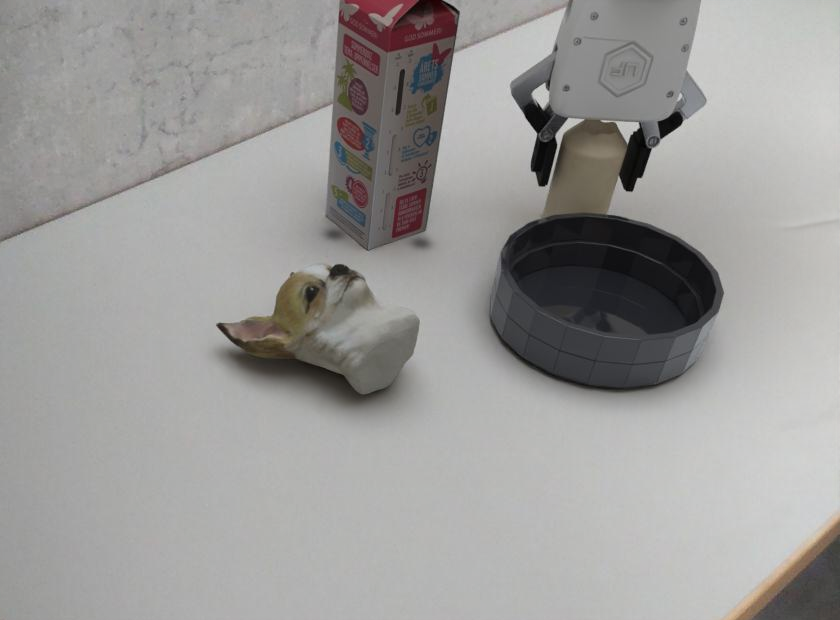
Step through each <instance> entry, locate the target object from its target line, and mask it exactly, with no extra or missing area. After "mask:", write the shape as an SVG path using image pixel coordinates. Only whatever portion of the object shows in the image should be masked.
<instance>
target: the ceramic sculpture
mask: <svg viewBox="0 0 840 620" xmlns="http://www.w3.org/2000/svg"><path fill="white" fill-rule="evenodd" d="M420 324H421V322H420V318H419V317H418V316H417V314H416V313H415V312H414V309H412V308H410V307H403V306H396V305H391V304H388V303H385V302H383V301H381V300H380V299H378V297H377V296H376V295H375V294H374V293H373V292H372V290H371V289H370V287H369V285H368V283H367V280H366V277H365V276H364V275H363V274H362V273H361V272H359V271H357V270H355V269H352V268H350V267H349V266H348V265H345V264H343V263H337V264H334V265H333V266H332V265H330V264H327V263H314V264H312V265H311V264H310V265H308V266H306V267H304V268H301V269H299V270H298V271H296V272H294V271H291V272H290V274H289V277H288V278H287V279H286V280H285V281H284V282H283V284H282V285H280V287H279V290H278V291H277V294H276V297H275V305H274V309H273V313H272V314H271V315H266V316H250V317H249V316H248V317H246V318H245V319H243V320H240V321H238V322H217V323H215V326H216V327H217V328H218V330H219V331H220V332H221V334H223V335H224V337H226V338H227V339H228V340H229V341H230V342H231V343H232V344H233V345H235V346H236V347H238V348H240V349H241V350H242V351H245V352H246V353H248V354H249V355H251V356H254V357H257V358H262V359H286V360H290V359H291V360H292V359H296V360H298V361H302V362H305V363H307V364H311V365H313V366H316V367H320V368H324V369H326V370H329V371H331V372H334V373H336V374H341V375H343V376H344V378H345V379H346V381H347V382H348V384H350V386H351V387H352V388H353V390H354V391H356V392H357V393H358V394H360V395H364V396H365V395H368V394H371V393H373V392H376V391H380V390H384V389H386V388H387V387H389V386H390V385H392V383H394V381H395V380H396V378H397V376H398V375H399V374H400V372H401V371H402V369H403V367H404V366H405V364H406V363H407V362H409V360H410V359H411V357H413V355H414V352H415V348H416V345H417V342H418V335H419V331H420Z"/></svg>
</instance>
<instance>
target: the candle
mask: <svg viewBox="0 0 840 620" xmlns="http://www.w3.org/2000/svg"><path fill="white" fill-rule="evenodd" d="M627 145H628V142H627V141H626V139H625V137H624V135H623V134H622V132H621V130H620V128H619V126H618V123H617V122H616V121H606V122H605V121H603V120H588V119H582V121H580V122H579V123H577V124H575V125H573V126H572V127H570V128H568V129H567V130H566V131H564V132H563V134H562V137H561V141H560V145H559V149H558V152H557V156H556V160H555V166H554V168H553V173H552V177H551V181H550V183H549V188H548V193H547V196H546V200H545V205H544V207H543V212H542V216H541V219H542V218H545V217H548V216H552V215H558V214H571V213H596V214H607V215H608V212H609V208H610V205H611V202H612V199H613V196H614V192H615V190H616V186H617V183H618V180H619V178H620V177H619V173H620V170H621V167H622V164H623V160H624V157H625V154H626V151H627Z"/></svg>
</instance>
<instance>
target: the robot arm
mask: <svg viewBox="0 0 840 620" xmlns="http://www.w3.org/2000/svg"><path fill="white" fill-rule="evenodd" d="M701 3H702V0H568V2H567V5H566V8H565V10H564V13H563V16H562V19H561V22H560V25H559V27H558V31H557V35H556V38H555V41H554V44H553V47H552V50H551V53H550V54H549V55H547V56H546V57H544V58H543V59H542V60H540V61H539V62H537V63H536V64H535V65H533V66H531V67H530V68H529V69H527V70H526V71H524V72H522V73H521V74H520V75H518V76H517V77H515V79H513V80H511V81H510V84H509V90H510V95H511V96H512V97H513V100H514V101H515V103H516V105H517V106H518V108H519V109H520V110H521V112H522V113H523V115H524V119H526V121H527V122H528V123H529V125H530V126H531V128H532V129H533V130H534V131H535V133H536V137H535V142H534V145H533V146H534V147H533V151H532V155H531V158H530V172H531V173H535V177H536V181H537V186H538V187H540V188H545V187H546V186H548V185H549V181H550V177H551V174H552V169H553V166H554V162H555V158H556V155H557V154H556V153H557V150H558V140H557V138H556V136H557V133H558V132H559V131H560V130H561V128H562V127H563V126H564V124H565V123H566V122H567V121H568V119H576V120H584V119H588V120H601V121H604V122H605V121H606V122H624V123H625V122H626V123H638V128H637V129H636V130H634V131H632V133H631V134H630V136H629V139H628V142H627V151H626V154H625V157H624V160H623V164H622V167H621V170H620V173H619V177H618V178H619V180H620V183H621V185H622V189H623V190H624V191H625V192H627V193H633V192H634V189H635V187H636V183H637V180H638V179H642V178H643V177H644V175H645V171H646V168H647V165H648V162H649V159H650V156H651V153H652V150H653V149H655V148H657V147H658V146H659V145H660V144H661V140H663V139H664V138H665V137H668V135H670V134H671V133H673V132H674V131H676V130H677V129H679V128H680V127H681V126H682V125H683V123H684V121H685V120H688V119H690V118H692V116H693V115H695V114H696V113H697V112H698V111H700V110H701V109H702V108H704V107H705V106H706V105H707V100H708V99H707V96H705V93H704V92H703V90H702V88H701V87H700V85H699V84H698V83H697V82H696V80H695V79H694V78H693V76H692V75H691V74H690V73H689V71H688V70H687V69H688V65H689V61H690V56H691V52H692V48H693V44H694V39H695V35H696V30H697V25H698V20H699V15H700V9H701ZM544 84H545V89H546V91H547V92H548V102H546V104H545V105H544V107H542V106H541V105H540V104H539V102H538V101H537V99H536V98H535V97H534V95H533V92H534V91H535V90H537V89H538V88H539V87H541V86H542V85H544ZM680 94H681V97H680Z"/></svg>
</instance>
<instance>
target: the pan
mask: <svg viewBox="0 0 840 620" xmlns="http://www.w3.org/2000/svg"><path fill="white" fill-rule="evenodd" d="M721 280H722V279H721V278H720V275H719V272H718V271H717V269H716V268H715V267H714V266H713V264H712V263H711V262H710V261H709V260H708V259H707V257H706V256H705V255H704V254H703V253H702V252H701V251H699V250H698V249H697V248H695V247H694V246H693V245H691V244H690V243H689V242H687V241H685V240H684V239H682V237H679V236H678V235H675V234H674V233H671V232H669V231H666V230H664V229H662V228H659V227H657V226H655V225H652V224H651V223H647V222H644V221H639V220H636V219H631V218H628V217H624V216H621V215H616V214H608V213H607V214H596V213H571V214H558V215H552V216H548V217H545V218H542V217H541V218H539V219H535V220H532V221H528V222H527V223H525V224H524V225H523V226H521V227H520V228H518V229H517V230H516V231H514V232H513V233H511V234H510V235H508V238H507V240H506V241H505V243H504V245H503V246H502V248H501V250H500V252H499V257H498V261H497V266H496V271H495V275H494V279H493V284H492V288H491V292H490V297H489V307H490V309H489V310H490V319H491V321H492V323H493V325H494V327H495V329H496V330H497V333H498V334H499V337H500V338H501V339H502V341H504V342H505V343H506V345H507V346H509V348H511V349H512V350H513V352H515V353H516V354H517V355H518V356H520V357H521V358H522V359H523V360H525V361H526V362H528V363H529V364H530V365H532V366H534V367H536V368H538V369H539V370H541V371H543V372H545V373H548V374H550V375H552V376H554V377H557V378H560V379H561V380H562V379H563V380H566V381H569V382H572V383H576V384H580V385H584V386H588V387H589V386H590V387H595V388H603V389H636V388H642V387H647V386H652V385H653V386H654V385H657V384H660V383H662V382H665V381H668V380H670V379H673V378H675V377H677V376H680V375H682V374H683V373H685V371H686V370H687V369H689V368H690V367H691V366H692V365H693V364H694V363H695V362H696V361H697V360H698V359H699V357H700V355H701V353H702V351H703V348H704V347H705V344H706V342H707V340H708V337H709V335H710V333H711V330H712V328H713V326H714V324H715V322H716V319H717V317H718V316H719V312H720V311H721V307H722V303H723V299H724V295H725V291H724V288H723V284H722V281H721Z"/></svg>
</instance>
